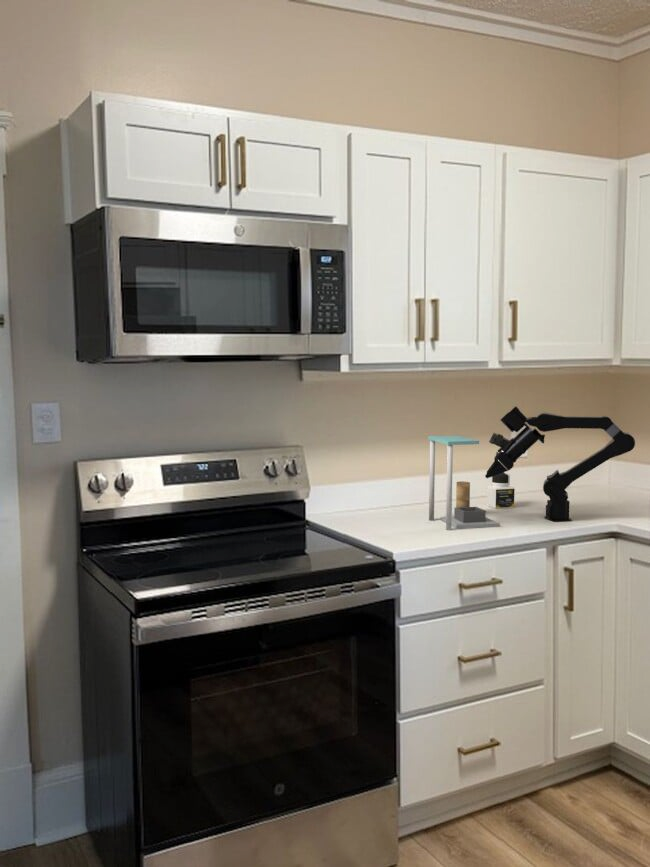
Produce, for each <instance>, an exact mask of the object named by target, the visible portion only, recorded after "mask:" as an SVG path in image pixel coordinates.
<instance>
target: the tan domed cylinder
mask: <svg viewBox="0 0 650 867" xmlns="http://www.w3.org/2000/svg"><path fill="white" fill-rule="evenodd" d="M455 484H456V486H455V487H456V488H455V490H456V494H455V496H456V497H455V503H456V504H455V508H458V507H471V503H470V502H471V499H470V498H471V496H470V495H471V482H470V481H464V480H463V481H456V483H455Z"/></svg>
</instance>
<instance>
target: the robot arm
mask: <svg viewBox="0 0 650 867" xmlns="http://www.w3.org/2000/svg"><path fill="white" fill-rule="evenodd" d="M500 422H501V423H502V424H503V425H504V426H505V427H507V429H508V430H509V431H510V432H511V433H513V432H515V433H518V432H519V431H520V430H521V431H520V432H519V433H518V434H517V435H515V437H512V438H510V439H509V438H506V437H504V435H503V434H500V433H496V432H493V433H492V434H491V437H490V439H489V441H488V443H490V444H491V445H495V446H497V447H499V448H498V449H497V451H496V453H495V456H494V461H493V462H492V464H491V465H490V466H489V468H487V470H486V474H485V475H484V477H485V478H486V479H490V478H492V476H495V475H498V474H501V473H503V472H505V473H507V472H508V471H510V470H512V468H514V465H515V464H514V463H516V462H517V460H518V459H520V457H521V456H523V455H524V454H526V452H527V451H528V450H529V449H530V448H532V447H533V445H535V443H537V442H538V441H540V443H541V444H544V443H545V437H546V434H541V433H540V432H544V433H545V432H552V431H558V430H563V429H586V430H587V429H589V430H590V429H592V430H593V429H594V430H595V429H596V430H598V429H600V430H603V431H604V432H605V433H606V434H607V435H608V436H610V438H611V439H610V441H609V442H608V443H607V444H606V445H604V447H602V448H601V449H600V450H598V451H596V452H595V453H593V454H591V455H590V456H588V457H586V458H585V459H583V460H582V461H579V463H577V464H575V465H574V466H572V467H570V468H569V469H567V470H566V471H563V472H559V469H556V470H555V471H553V473H552V474H549V475H547V476H546V479H545V480H544V481H543V484H542V485H543V486H542V490H543V493H544V494H545V495H546V496H547V497H549V499H547V502H546V505H545V516H544V519H546V520H549V521H552V522H567V521H568V522H571V521H573V519H572V518H570V500H568V499H569V493H568V491H566V490H567V488H568V487H569V486H571V484H572V483H573V482H575V481H577V480H578V479H579V478H581V477H583V476H584V475H586V474H587V473H589V472H590V471H592V470H594V469H596V468H597V467H599V466H600V465H602V464H604V463H605V462H606V461H608V460H610V459H612V458H615V457H619V456H623V455H625V454H627V453H629V452H631V451H632V450H633V449H634V448H635V447H636V440H635V438H634V436H632V434H630V433H629V432H626V431H622V429H620V428H619V426H618V425H616V424H615V422H613V421H612V419H611V418H610V417H609V416H606V415H602V416H570V415H569V416H566V415H565V416H564V415H559V414H556V413H549V412H541V413H539V414H538V415H537V416H532V417H531V416H529V417H527V416H526V415H525V414H524V413H523V412H522V411H521V410H520V409H519V407H518V406H517V405H516V406H514V407H513V408H512V409H511V410H509V411H508V412H507V413H506V414H505V415H504V416H502V417H501V418H500ZM531 427H535V428H534V429H533V428H531Z"/></svg>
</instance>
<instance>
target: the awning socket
mask: <svg viewBox="0 0 650 867" xmlns="http://www.w3.org/2000/svg"><path fill="white" fill-rule="evenodd" d="M427 439H428V441H429V480H428V481H429V482H428V483H429V486H428V487H429V488H428V490H429V491H428V492H429V494H428V521H431V522H432V521H435V480H436V479H435V478H436V477H435V474H436V473H435V471H436V470H435V468H436V466H435V464H436V461H435V460H436V442H437V443H441V444H444V445H446V454H447V455H446V457H447V459H446V460H447V461H446V505H445V506H446V513H445V514H446V515H445V516H440V521H441V522H444V523H445V524H446V525H445V526H446V527H445V530H446V531H451V530H452V527H453V528H455V529H477V528H479V529H480V528H499V527H500V526H501V524H500V522H498V521H495V520H493V519H491V518H488V517H487V516H486V515H487V514H486V513H487V512H486V511H487V510H485V509H483V508H480V507H478V506H470V507H458V508H456V507H454V511H453V512H454V516H453V514H452V510H453V454H454V452H453V451H454V450H453V446H454V445H455V446H456V445H457V446H460V445H479V444H480V440H478V439H473V438H469V437H464V436H461V435H433V436H431V435H429V436H428V438H427Z"/></svg>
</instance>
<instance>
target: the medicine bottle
mask: <svg viewBox="0 0 650 867" xmlns="http://www.w3.org/2000/svg"><path fill="white" fill-rule="evenodd" d="M491 478H492V479H491V485H487V487H486V505H487V506H488V507H491V508H493V509H498V510H499V509H514V508H515V490H516V489H515V487H512V486H511V485H510V484H511V483H510V482H511V475H510V473H508V472H503V473H501V474H498V475H495V476H492V477H491Z"/></svg>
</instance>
